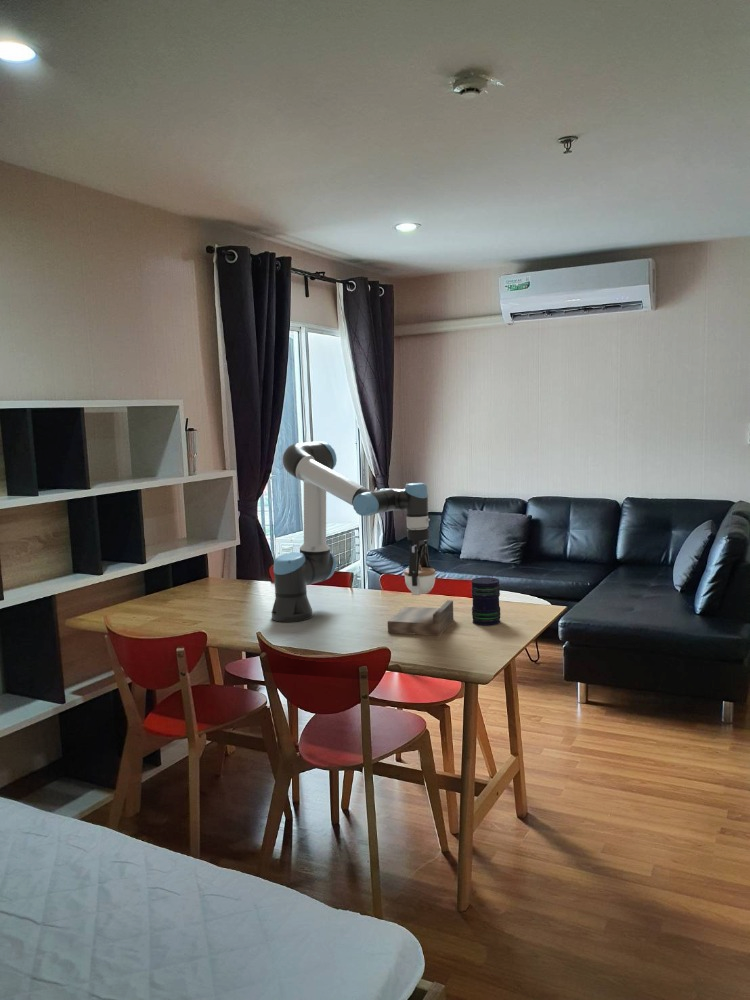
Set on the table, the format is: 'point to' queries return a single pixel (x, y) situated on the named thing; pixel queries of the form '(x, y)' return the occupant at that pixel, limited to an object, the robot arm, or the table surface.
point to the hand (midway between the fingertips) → (420, 591)
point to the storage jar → (485, 601)
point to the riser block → (422, 620)
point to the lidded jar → (422, 579)
